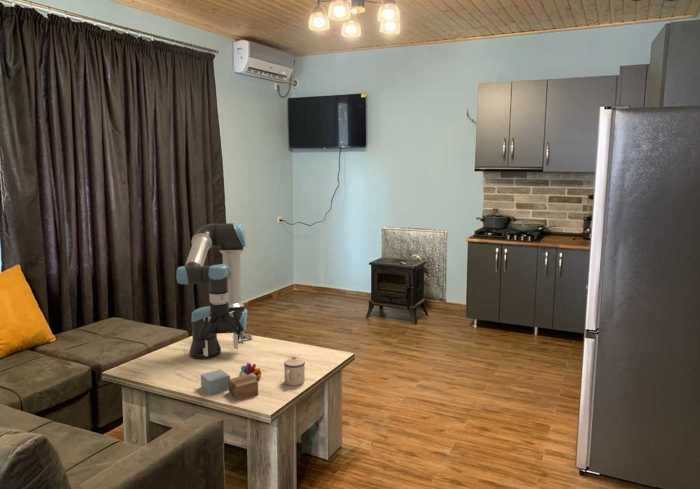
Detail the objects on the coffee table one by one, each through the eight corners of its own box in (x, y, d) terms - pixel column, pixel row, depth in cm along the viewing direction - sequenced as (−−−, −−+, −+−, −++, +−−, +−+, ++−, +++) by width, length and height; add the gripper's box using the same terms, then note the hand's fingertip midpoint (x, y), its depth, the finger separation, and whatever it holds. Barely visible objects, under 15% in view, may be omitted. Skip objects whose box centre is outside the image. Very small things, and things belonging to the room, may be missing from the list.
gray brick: (201, 387, 229) (200, 374, 228) (220, 382, 234) (220, 369, 234) (210, 395, 222) (209, 381, 221) (230, 389, 228) (229, 375, 227)
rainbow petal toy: (257, 384, 233) (256, 368, 232) (236, 382, 235) (235, 366, 233) (264, 376, 241) (263, 360, 240) (243, 374, 243) (243, 359, 242)
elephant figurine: (256, 342, 285) (241, 340, 280) (250, 348, 288) (235, 346, 282) (252, 326, 292) (238, 324, 286) (246, 332, 294) (232, 330, 288)
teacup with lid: (289, 376, 241) (289, 351, 239) (308, 379, 238) (308, 353, 236) (277, 386, 229) (276, 360, 228) (296, 390, 226) (296, 363, 225)
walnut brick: (228, 393, 224) (228, 379, 223) (248, 387, 229) (248, 374, 228) (237, 400, 217) (237, 386, 216) (258, 395, 222) (257, 381, 221)
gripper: (193, 309, 213) (196, 360, 216) (250, 299, 228) (252, 347, 231) (186, 305, 218) (188, 355, 222) (242, 296, 234) (243, 343, 237)
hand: (221, 351), depth 226 cm, fingers open, 13 cm apart
